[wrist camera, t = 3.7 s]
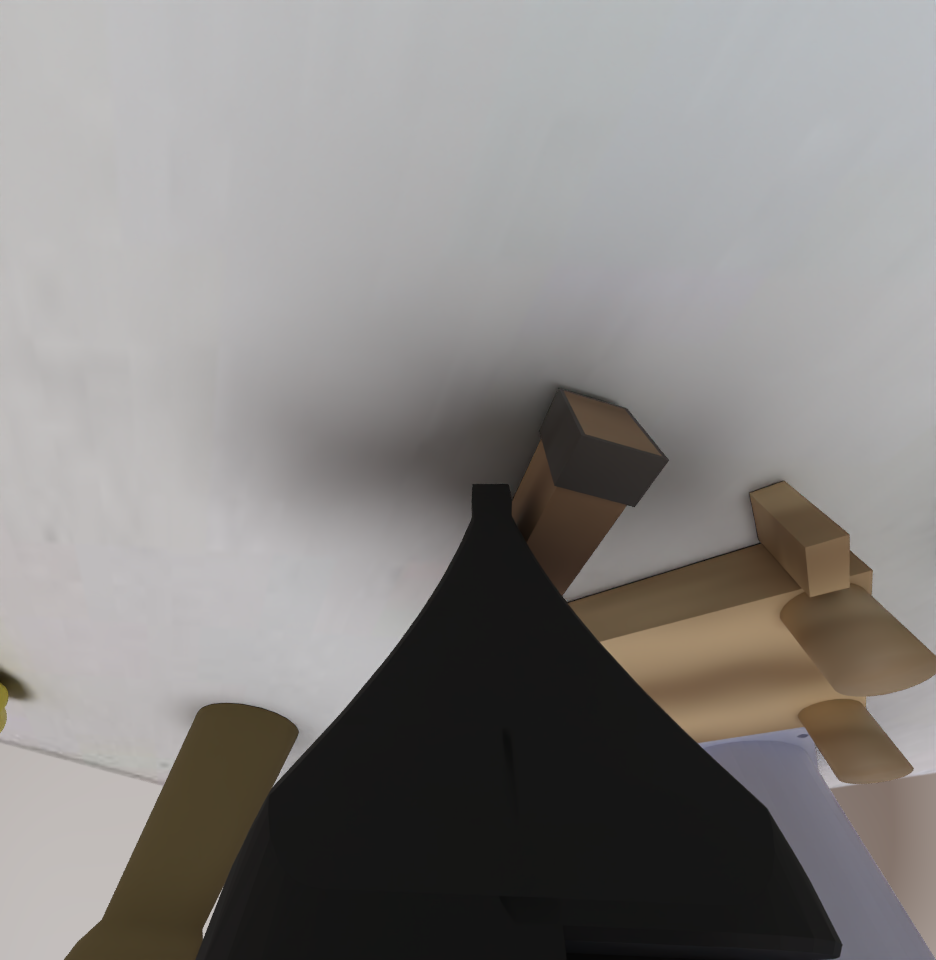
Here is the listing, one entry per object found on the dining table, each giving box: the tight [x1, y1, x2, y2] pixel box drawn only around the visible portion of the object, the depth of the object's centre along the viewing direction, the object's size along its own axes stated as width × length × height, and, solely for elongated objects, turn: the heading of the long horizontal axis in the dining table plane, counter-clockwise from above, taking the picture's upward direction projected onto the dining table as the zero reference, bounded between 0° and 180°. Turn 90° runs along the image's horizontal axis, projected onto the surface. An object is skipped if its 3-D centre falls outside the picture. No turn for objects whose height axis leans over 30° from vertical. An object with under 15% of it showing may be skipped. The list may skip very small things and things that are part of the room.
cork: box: [64, 703, 299, 960], centre depth 17 cm, size 6×6×11 cm
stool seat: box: [568, 481, 936, 784], centre depth 13 cm, size 13×13×4 cm
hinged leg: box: [512, 388, 669, 596], centre depth 10 cm, size 9×2×2 cm, turn 164°
